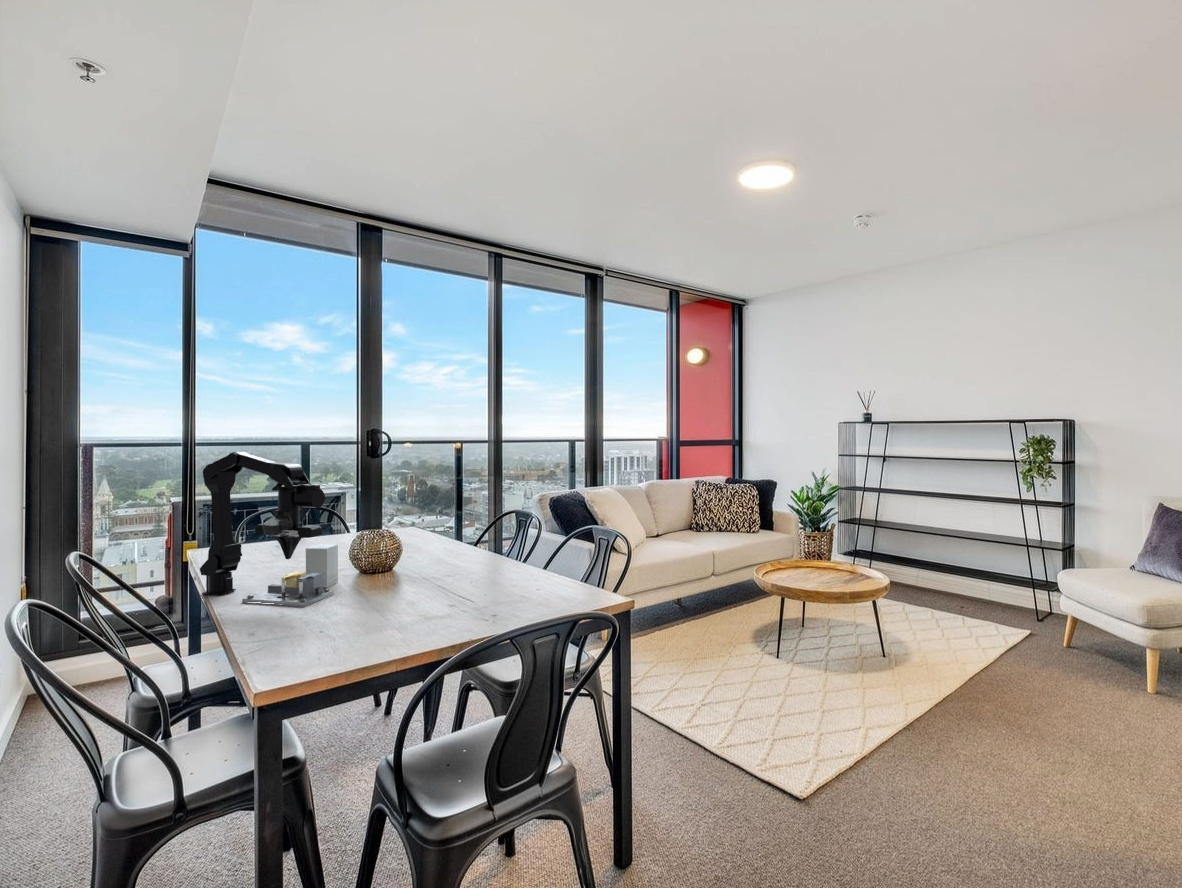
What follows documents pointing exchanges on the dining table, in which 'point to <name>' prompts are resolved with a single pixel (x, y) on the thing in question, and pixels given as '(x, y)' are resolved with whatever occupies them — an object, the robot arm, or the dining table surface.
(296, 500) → the robot arm
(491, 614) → the dining table surface
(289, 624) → the dining table surface
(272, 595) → the bolt plate
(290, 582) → the yellow chamfered block
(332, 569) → the supplement box
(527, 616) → the dining table surface
